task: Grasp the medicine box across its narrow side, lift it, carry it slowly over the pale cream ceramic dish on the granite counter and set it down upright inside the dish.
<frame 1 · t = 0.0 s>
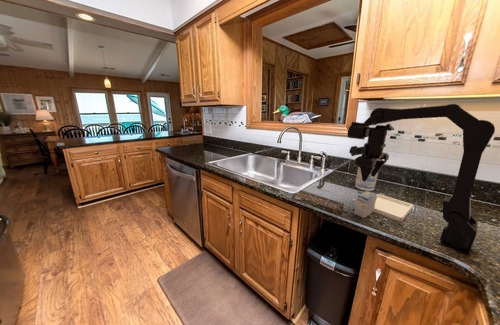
hand: (368, 178, 80), 15 cm above the worktop, fingers open, 9 cm apart
dish: (387, 208, 86), on the worktop
medicine box: (363, 213, 81), on the worktop
supplement tub: (364, 188, 108), on the worktop
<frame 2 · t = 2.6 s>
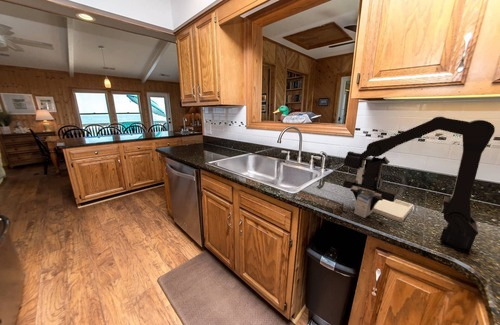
hand: (364, 207, 81), 3 cm above the worktop, fingers closed on medicine box, 4 cm apart
medicine box: (363, 213, 81), on the worktop, touching gripper
everything else where it was.
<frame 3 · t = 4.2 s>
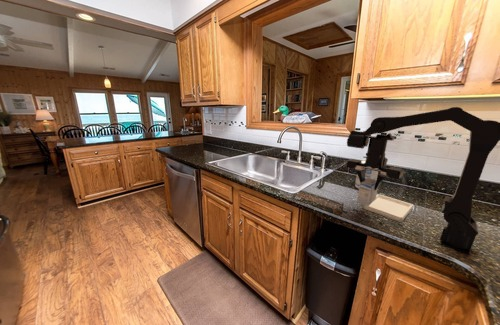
hand: (368, 188, 78), 11 cm above the worktop, fingers closed on medicine box, 4 cm apart
medicine box: (366, 201, 80), point 5 cm above the worktop, touching gripper
everything else where it was.
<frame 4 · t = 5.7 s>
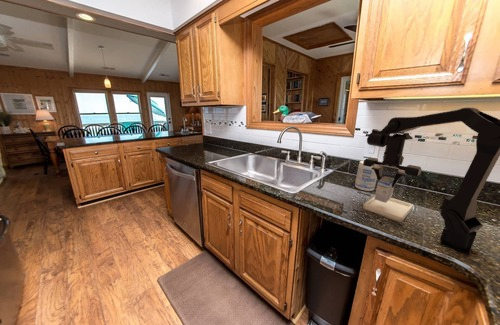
hand: (386, 185, 81), 11 cm above the worktop, fingers closed on medicine box, 4 cm apart
medicine box: (383, 198, 83), point 5 cm above the worktop, touching gripper
everything else where it was.
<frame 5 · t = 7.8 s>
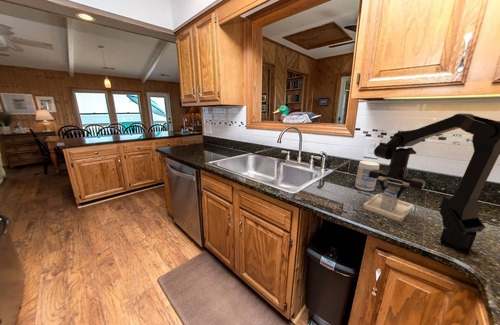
hand: (390, 197, 84), 6 cm above the worktop, fingers open, 4 cm apart
medicine box: (388, 207, 85), resting on dish, touching gripper
everything else where it was.
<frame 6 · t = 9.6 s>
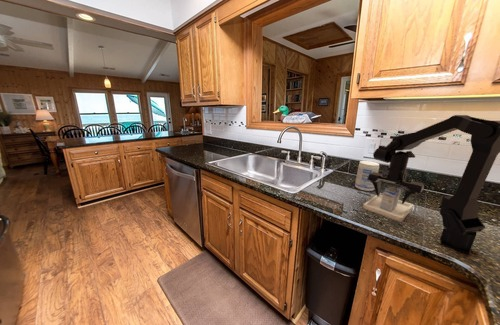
hand: (389, 199, 84), 4 cm above the worktop, fingers open, 9 cm apart
medicine box: (388, 207, 85), resting on dish
everything else where it was.
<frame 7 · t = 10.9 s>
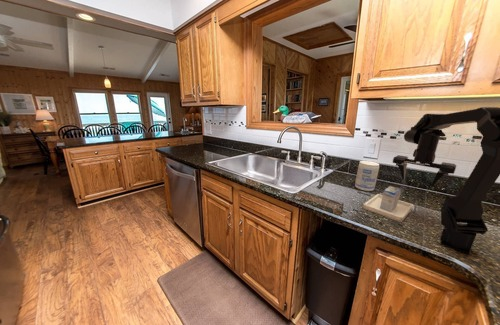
hand: (417, 183, 80), 13 cm above the worktop, fingers open, 9 cm apart
nothing on the worktop moved.
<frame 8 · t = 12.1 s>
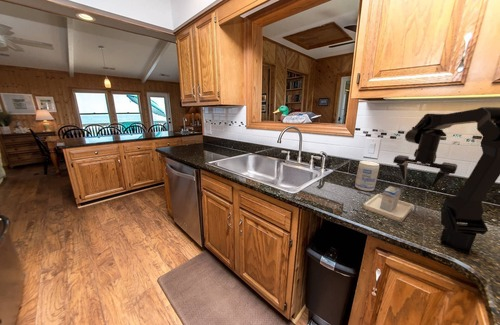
hand: (417, 183, 80), 13 cm above the worktop, fingers open, 9 cm apart
nothing on the worktop moved.
at the end: medicine box inside the target area on the dish (0.1 cm from its centre), point 0.4 cm above the dish's base; medicine box tilted 0°; the gripper is holding nothing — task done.
